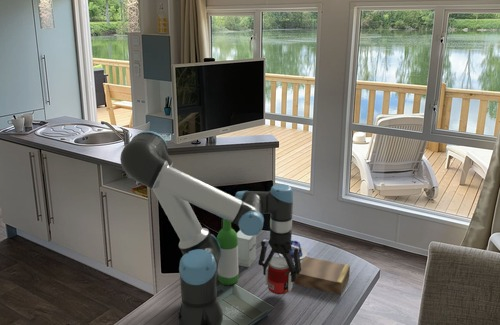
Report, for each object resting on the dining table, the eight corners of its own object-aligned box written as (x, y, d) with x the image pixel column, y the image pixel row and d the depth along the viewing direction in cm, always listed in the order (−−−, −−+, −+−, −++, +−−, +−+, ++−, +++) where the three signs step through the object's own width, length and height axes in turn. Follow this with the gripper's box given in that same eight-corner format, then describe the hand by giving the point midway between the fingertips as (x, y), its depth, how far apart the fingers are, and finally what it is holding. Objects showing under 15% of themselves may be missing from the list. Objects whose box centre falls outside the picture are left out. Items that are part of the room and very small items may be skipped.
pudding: (303, 263, 193) (304, 252, 191) (275, 259, 196) (275, 247, 194) (309, 249, 203) (310, 238, 202) (282, 245, 207) (282, 235, 205)
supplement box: (249, 268, 189) (248, 239, 185) (232, 264, 192) (232, 236, 188) (256, 259, 195) (256, 232, 191) (240, 255, 199) (240, 228, 194)
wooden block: (294, 284, 178) (294, 271, 176) (304, 267, 189) (305, 255, 187) (341, 295, 171) (341, 282, 169) (349, 277, 182) (350, 265, 180)
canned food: (288, 296, 165) (289, 268, 162) (266, 293, 167) (266, 266, 163) (291, 284, 172) (292, 257, 169) (269, 281, 174) (270, 255, 170)
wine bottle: (222, 273, 185) (219, 203, 176) (241, 276, 184) (239, 205, 174) (215, 284, 178) (212, 212, 169) (235, 287, 176) (233, 214, 167)
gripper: (313, 230, 161) (309, 287, 168) (257, 218, 169) (256, 273, 176) (306, 239, 155) (303, 298, 162) (248, 227, 163) (248, 284, 170)
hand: (278, 285), depth 169 cm, fingers closed on canned food, 8 cm apart
